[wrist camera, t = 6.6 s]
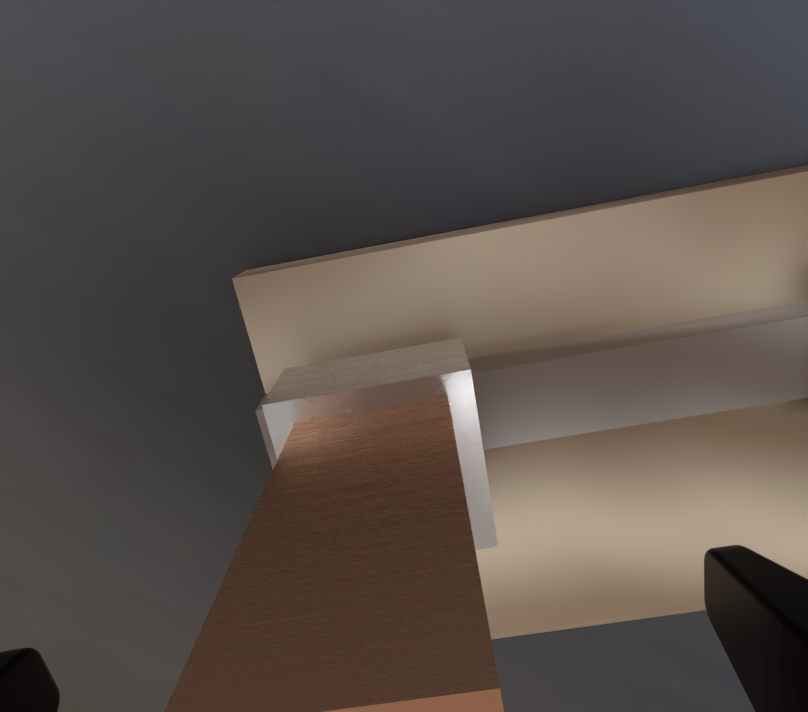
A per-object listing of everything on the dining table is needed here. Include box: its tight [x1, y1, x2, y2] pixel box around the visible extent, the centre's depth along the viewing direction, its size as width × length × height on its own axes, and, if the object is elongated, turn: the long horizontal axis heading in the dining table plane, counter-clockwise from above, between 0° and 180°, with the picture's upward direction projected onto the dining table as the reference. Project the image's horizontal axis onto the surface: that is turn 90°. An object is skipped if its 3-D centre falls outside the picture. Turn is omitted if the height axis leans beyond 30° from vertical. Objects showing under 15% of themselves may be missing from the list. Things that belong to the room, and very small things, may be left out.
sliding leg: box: [164, 338, 504, 712], centre depth 9 cm, size 6×4×9 cm, turn 11°
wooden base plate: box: [232, 165, 808, 639], centre depth 13 cm, size 12×18×4 cm, turn 100°
